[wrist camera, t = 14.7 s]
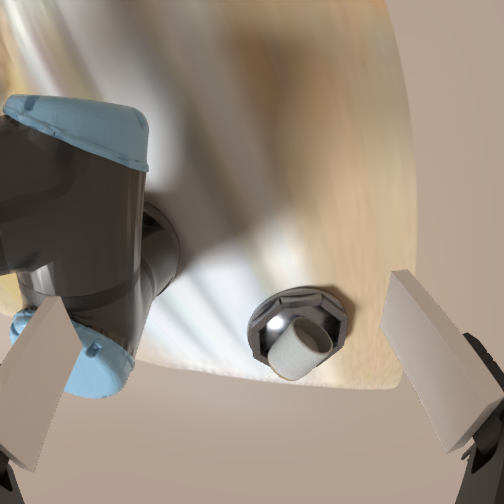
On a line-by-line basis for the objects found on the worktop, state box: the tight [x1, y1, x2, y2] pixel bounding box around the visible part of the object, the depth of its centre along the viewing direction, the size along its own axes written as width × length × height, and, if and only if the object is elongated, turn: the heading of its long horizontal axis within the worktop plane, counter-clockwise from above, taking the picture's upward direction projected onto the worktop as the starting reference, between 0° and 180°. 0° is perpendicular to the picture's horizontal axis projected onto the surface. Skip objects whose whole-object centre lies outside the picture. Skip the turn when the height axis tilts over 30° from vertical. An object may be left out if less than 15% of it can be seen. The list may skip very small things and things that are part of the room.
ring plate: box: [247, 287, 348, 368], centre depth 48 cm, size 17×17×2 cm
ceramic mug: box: [268, 317, 333, 381], centre depth 46 cm, size 11×8×8 cm
